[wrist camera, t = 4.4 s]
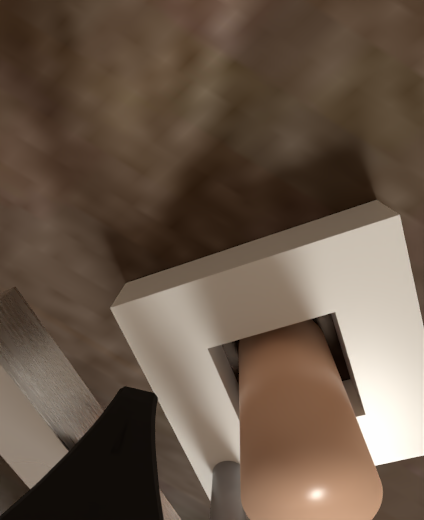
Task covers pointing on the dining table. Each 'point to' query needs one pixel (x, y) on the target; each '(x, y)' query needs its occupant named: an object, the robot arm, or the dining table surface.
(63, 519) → the robot arm
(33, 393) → the grey long bar
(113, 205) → the dining table surface
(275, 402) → the plug
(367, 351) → the socket block
